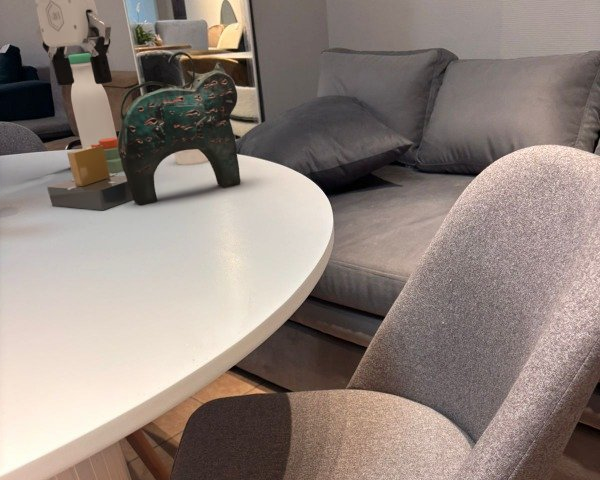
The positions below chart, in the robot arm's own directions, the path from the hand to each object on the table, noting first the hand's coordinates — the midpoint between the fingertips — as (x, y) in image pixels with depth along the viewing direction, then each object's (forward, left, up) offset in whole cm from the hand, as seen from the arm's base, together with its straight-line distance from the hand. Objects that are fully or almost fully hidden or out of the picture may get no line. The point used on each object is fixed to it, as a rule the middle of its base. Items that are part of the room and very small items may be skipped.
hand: (84, 83), depth 109 cm
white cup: (+6, +17, -16) cm, 25 cm away
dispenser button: (-8, +9, -12) cm, 18 cm away
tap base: (+10, -12, -16) cm, 22 cm away
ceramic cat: (+23, -4, -16) cm, 29 cm away
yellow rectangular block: (+10, -12, -13) cm, 20 cm away
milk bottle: (-22, +19, -16) cm, 33 cm away
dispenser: (-8, +9, -16) cm, 20 cm away
